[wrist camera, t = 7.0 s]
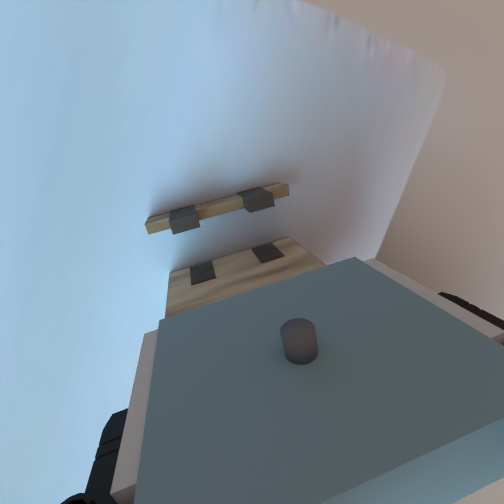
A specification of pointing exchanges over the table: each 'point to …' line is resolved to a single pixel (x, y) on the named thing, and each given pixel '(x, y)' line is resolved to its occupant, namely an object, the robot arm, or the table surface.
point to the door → (322, 398)
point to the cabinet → (235, 265)
